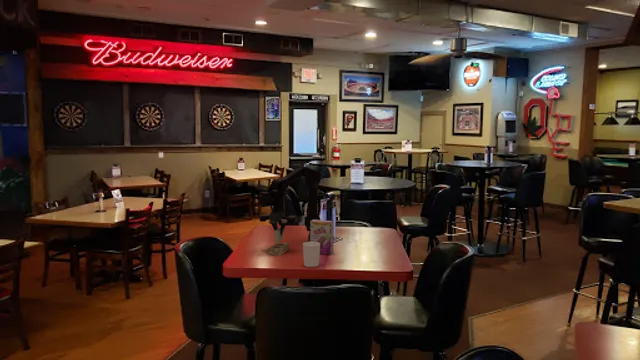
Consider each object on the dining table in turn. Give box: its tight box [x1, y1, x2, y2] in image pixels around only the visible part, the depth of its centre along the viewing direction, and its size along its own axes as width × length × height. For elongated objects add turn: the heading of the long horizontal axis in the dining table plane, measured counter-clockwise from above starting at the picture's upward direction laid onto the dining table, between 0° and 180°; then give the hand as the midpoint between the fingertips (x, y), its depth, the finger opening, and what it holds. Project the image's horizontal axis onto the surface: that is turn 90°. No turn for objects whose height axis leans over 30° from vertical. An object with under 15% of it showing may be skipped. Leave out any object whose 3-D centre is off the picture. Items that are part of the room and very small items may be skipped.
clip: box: [274, 227, 284, 244], centre depth 243 cm, size 2×8×6 cm, turn 165°
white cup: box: [302, 241, 321, 268], centre depth 220 cm, size 8×8×10 cm
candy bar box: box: [309, 219, 335, 256], centre depth 241 cm, size 11×5×16 cm, turn 71°
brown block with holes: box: [267, 242, 290, 256], centre depth 244 cm, size 6×14×3 cm, turn 165°
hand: (279, 235), depth 243 cm, fingers closed on clip, 2 cm apart
